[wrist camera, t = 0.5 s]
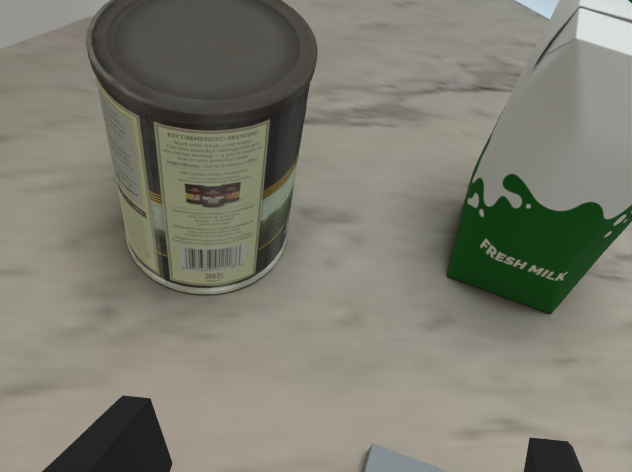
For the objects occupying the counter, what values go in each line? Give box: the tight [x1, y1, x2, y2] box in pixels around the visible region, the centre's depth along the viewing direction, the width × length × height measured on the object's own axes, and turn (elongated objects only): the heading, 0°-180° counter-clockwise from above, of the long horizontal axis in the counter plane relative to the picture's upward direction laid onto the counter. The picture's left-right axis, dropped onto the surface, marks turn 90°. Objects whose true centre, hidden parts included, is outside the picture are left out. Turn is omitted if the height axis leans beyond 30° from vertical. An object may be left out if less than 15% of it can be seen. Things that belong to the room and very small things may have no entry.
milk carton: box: [447, 0, 632, 314], centre depth 32 cm, size 9×9×20 cm
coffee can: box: [86, 0, 317, 295], centre depth 32 cm, size 10×10×14 cm
